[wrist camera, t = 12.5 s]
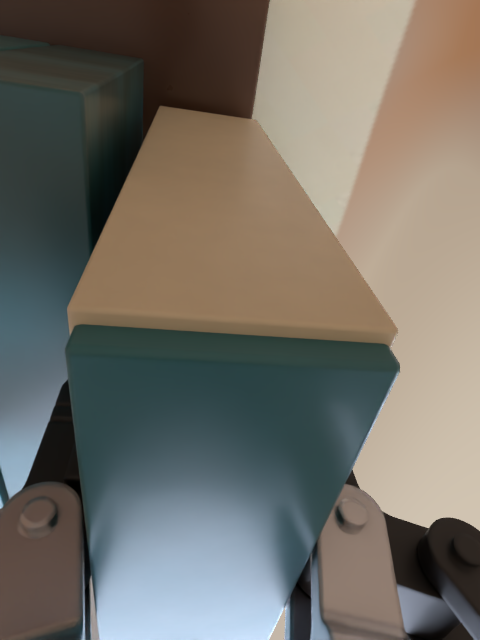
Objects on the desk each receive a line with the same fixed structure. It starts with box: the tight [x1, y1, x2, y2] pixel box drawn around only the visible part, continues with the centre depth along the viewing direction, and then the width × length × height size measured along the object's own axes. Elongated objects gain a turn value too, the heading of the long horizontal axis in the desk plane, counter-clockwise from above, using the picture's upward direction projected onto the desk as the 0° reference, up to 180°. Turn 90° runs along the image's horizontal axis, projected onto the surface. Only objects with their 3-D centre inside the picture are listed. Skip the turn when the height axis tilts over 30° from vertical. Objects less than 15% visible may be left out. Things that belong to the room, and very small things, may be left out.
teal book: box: [65, 106, 400, 640], centre depth 13 cm, size 10×4×14 cm, turn 171°
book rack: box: [0, 0, 270, 509], centre depth 15 cm, size 18×14×11 cm
